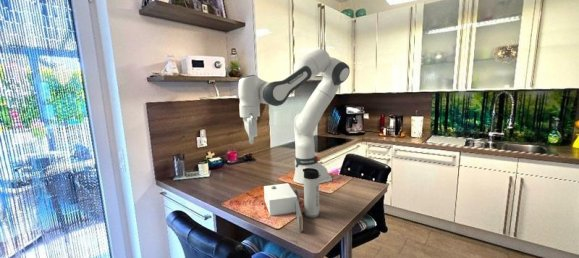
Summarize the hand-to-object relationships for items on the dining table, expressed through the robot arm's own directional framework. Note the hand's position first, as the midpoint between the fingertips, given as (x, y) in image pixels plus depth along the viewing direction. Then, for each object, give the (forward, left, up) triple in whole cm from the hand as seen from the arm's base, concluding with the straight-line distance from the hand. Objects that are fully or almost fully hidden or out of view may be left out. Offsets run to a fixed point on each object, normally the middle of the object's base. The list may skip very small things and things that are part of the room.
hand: (251, 143), depth 111 cm
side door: (-15, +21, -29) cm, 39 cm away
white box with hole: (-11, +5, -29) cm, 31 cm away
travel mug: (-22, +17, -29) cm, 40 cm away
